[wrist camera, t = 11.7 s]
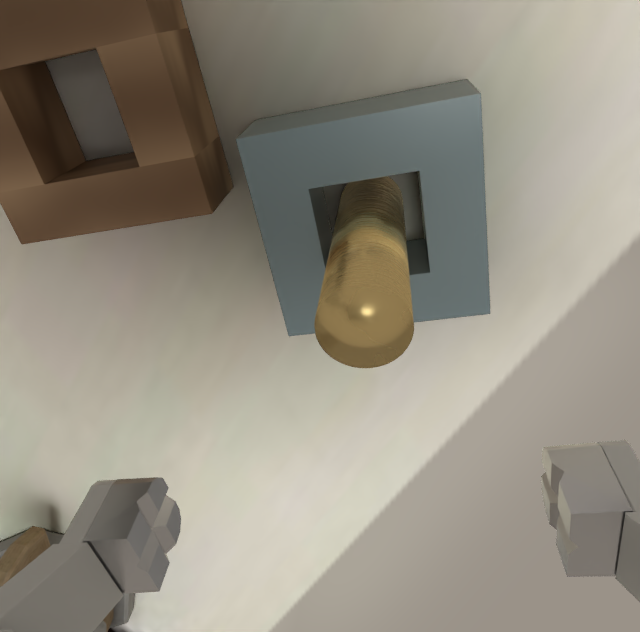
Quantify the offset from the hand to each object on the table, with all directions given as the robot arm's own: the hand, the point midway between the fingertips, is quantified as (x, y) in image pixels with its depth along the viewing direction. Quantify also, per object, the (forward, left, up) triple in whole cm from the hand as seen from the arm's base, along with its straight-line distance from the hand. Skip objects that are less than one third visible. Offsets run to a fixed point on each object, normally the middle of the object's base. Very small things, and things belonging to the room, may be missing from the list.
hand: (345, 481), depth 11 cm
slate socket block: (0, 0, -19) cm, 19 cm away
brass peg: (0, 0, -19) cm, 19 cm away
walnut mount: (-7, -12, -19) cm, 23 cm away
